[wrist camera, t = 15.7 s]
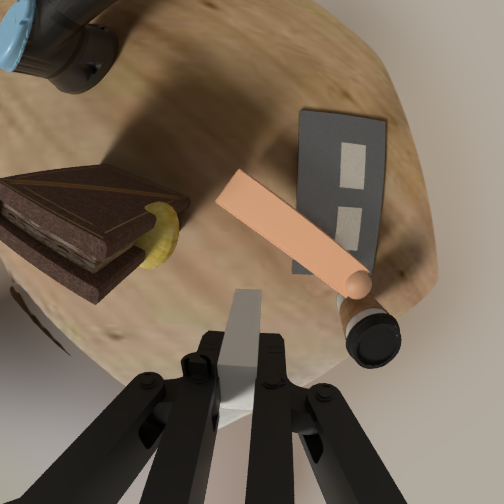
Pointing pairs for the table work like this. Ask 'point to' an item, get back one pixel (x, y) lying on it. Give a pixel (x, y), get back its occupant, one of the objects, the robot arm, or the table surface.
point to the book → (89, 224)
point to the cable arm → (295, 235)
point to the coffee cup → (368, 331)
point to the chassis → (341, 180)
